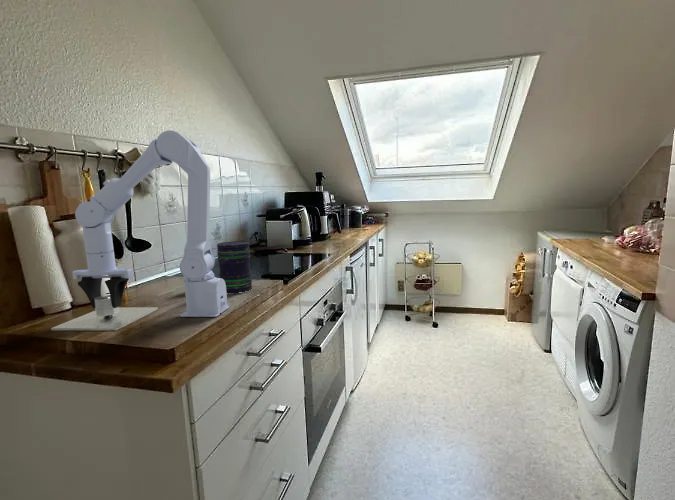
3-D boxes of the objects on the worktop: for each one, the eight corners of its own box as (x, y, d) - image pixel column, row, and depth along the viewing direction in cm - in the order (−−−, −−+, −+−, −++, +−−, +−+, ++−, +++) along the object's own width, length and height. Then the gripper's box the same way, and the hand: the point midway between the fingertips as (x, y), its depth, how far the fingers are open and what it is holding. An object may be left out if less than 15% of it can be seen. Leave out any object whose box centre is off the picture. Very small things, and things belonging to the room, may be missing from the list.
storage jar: (228, 286, 122) (225, 241, 120) (257, 286, 121) (254, 240, 119) (214, 294, 113) (210, 245, 111) (245, 294, 111) (241, 244, 109)
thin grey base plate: (157, 309, 99) (155, 289, 98) (115, 330, 83) (112, 306, 82) (102, 309, 101) (100, 289, 100) (51, 330, 85) (47, 307, 84)
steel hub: (123, 310, 94) (121, 294, 93) (109, 316, 89) (107, 300, 88) (106, 310, 94) (104, 294, 94) (91, 316, 90) (89, 300, 89)
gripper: (138, 249, 93) (144, 302, 94) (85, 250, 94) (92, 302, 96) (119, 253, 86) (126, 310, 87) (62, 254, 87) (70, 310, 89)
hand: (107, 306), depth 91 cm, fingers closed on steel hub, 5 cm apart
